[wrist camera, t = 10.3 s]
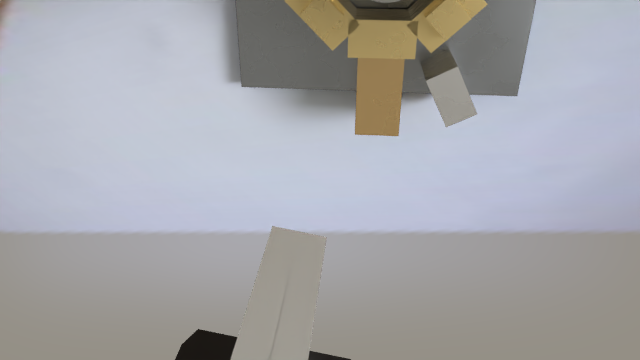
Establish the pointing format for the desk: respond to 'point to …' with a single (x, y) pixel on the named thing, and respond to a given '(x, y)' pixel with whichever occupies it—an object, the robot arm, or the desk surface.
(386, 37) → the octagonal block ring
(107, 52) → the desk surface
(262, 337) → the robot arm
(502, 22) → the grey base plate
